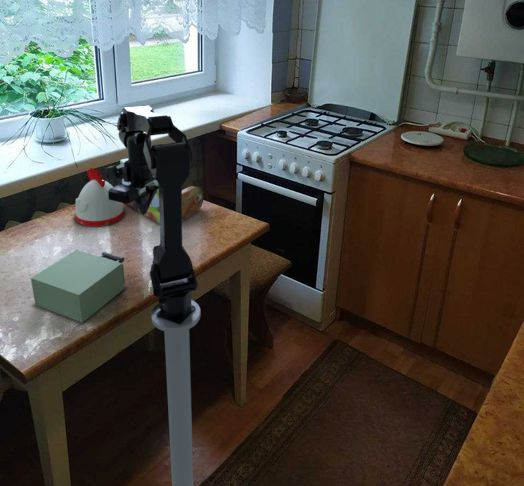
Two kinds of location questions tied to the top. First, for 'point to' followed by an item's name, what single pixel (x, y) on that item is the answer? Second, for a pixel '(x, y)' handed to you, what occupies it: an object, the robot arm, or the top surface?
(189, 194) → the tin
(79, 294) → the cabinet
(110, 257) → the drawer
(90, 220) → the kitchen timer
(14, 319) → the top surface
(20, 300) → the top surface
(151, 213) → the snack box
